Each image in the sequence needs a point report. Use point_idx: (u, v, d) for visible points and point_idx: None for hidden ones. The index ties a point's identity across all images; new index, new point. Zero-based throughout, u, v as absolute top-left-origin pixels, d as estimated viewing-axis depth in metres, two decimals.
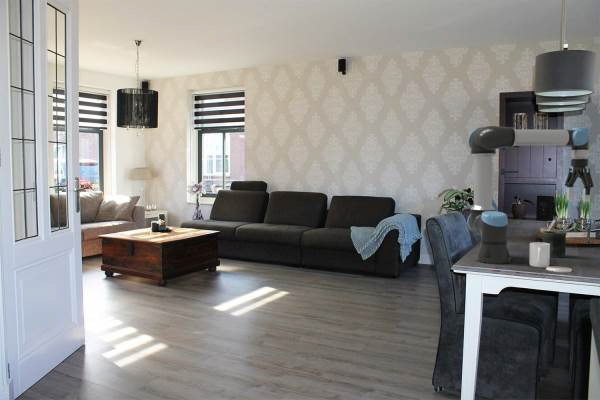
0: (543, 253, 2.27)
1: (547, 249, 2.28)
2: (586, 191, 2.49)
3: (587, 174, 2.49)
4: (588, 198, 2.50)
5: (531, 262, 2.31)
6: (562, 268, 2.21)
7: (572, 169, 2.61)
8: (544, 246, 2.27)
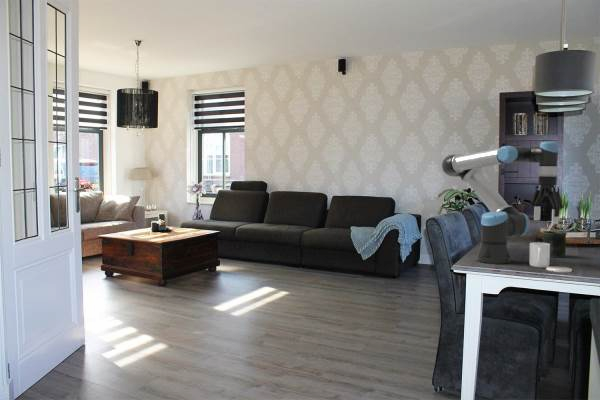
0: (543, 253, 2.27)
1: (547, 249, 2.28)
2: (555, 212, 2.25)
3: (556, 194, 2.25)
4: (557, 220, 2.27)
5: (531, 262, 2.31)
6: (562, 268, 2.21)
7: (539, 187, 2.37)
8: (544, 246, 2.27)
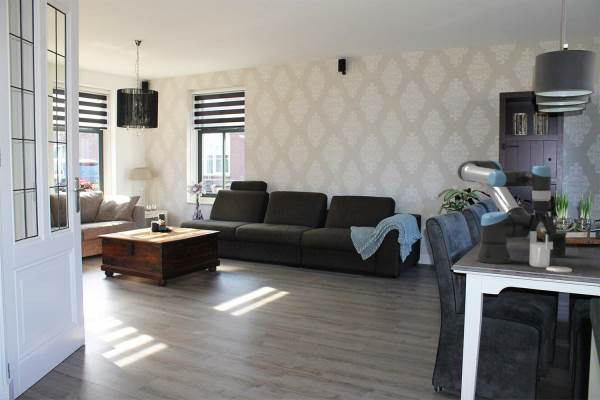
0: (543, 253, 2.27)
1: (547, 249, 2.27)
2: (548, 238, 2.21)
3: (549, 218, 2.21)
4: (551, 245, 2.21)
5: (531, 262, 2.31)
6: (562, 268, 2.21)
7: (534, 211, 2.33)
8: (544, 246, 2.27)
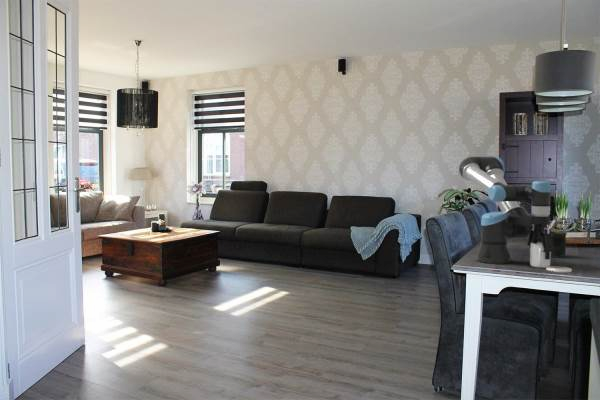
0: None
1: None
2: (545, 255, 2.23)
3: (547, 236, 2.22)
4: (548, 263, 2.24)
5: (532, 262, 2.30)
6: (562, 268, 2.21)
7: (533, 227, 2.34)
8: None
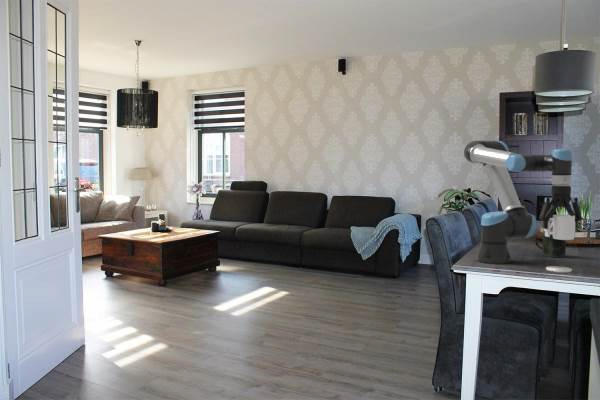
0: (553, 224, 2.20)
1: (557, 220, 2.17)
2: None
3: (544, 205, 2.20)
4: (547, 233, 2.19)
5: None
6: (562, 268, 2.21)
7: None
8: (554, 217, 2.19)
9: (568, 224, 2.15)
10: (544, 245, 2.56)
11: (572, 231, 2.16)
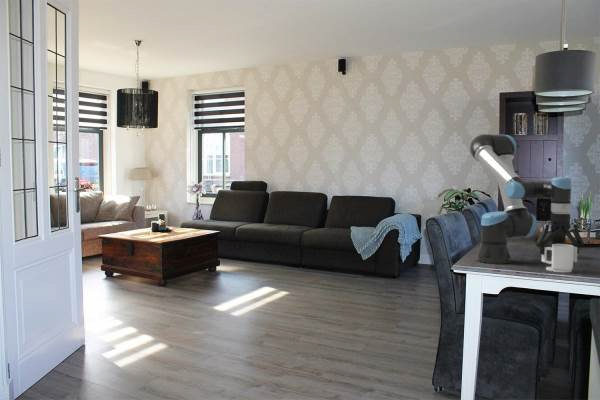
0: (552, 253, 2.21)
1: (555, 250, 2.18)
2: None
3: (542, 231, 2.20)
4: (544, 258, 2.20)
5: None
6: None
7: (570, 225, 2.21)
8: (553, 246, 2.20)
9: (567, 254, 2.16)
10: None
11: (571, 262, 2.17)
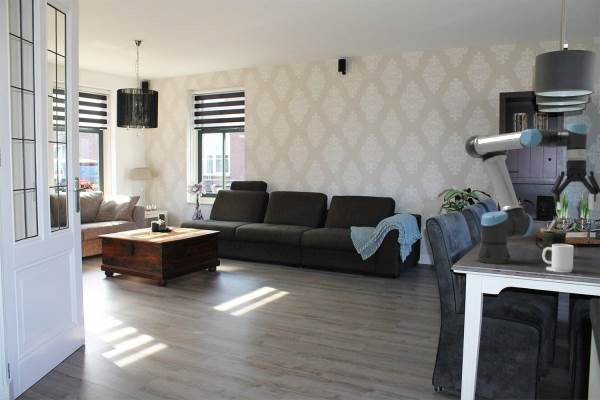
0: (552, 253, 2.21)
1: (555, 250, 2.19)
2: None
3: (558, 178, 2.17)
4: (559, 206, 2.17)
5: None
6: None
7: None
8: (553, 246, 2.20)
9: (567, 254, 2.16)
10: (544, 245, 2.56)
11: (571, 261, 2.17)
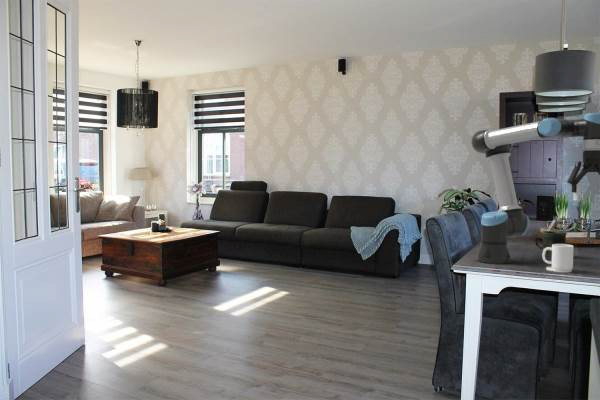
0: (552, 253, 2.21)
1: (555, 250, 2.19)
2: None
3: (574, 168, 2.15)
4: (576, 196, 2.15)
5: None
6: None
7: None
8: (553, 246, 2.20)
9: (567, 254, 2.16)
10: (544, 245, 2.56)
11: (571, 262, 2.17)
